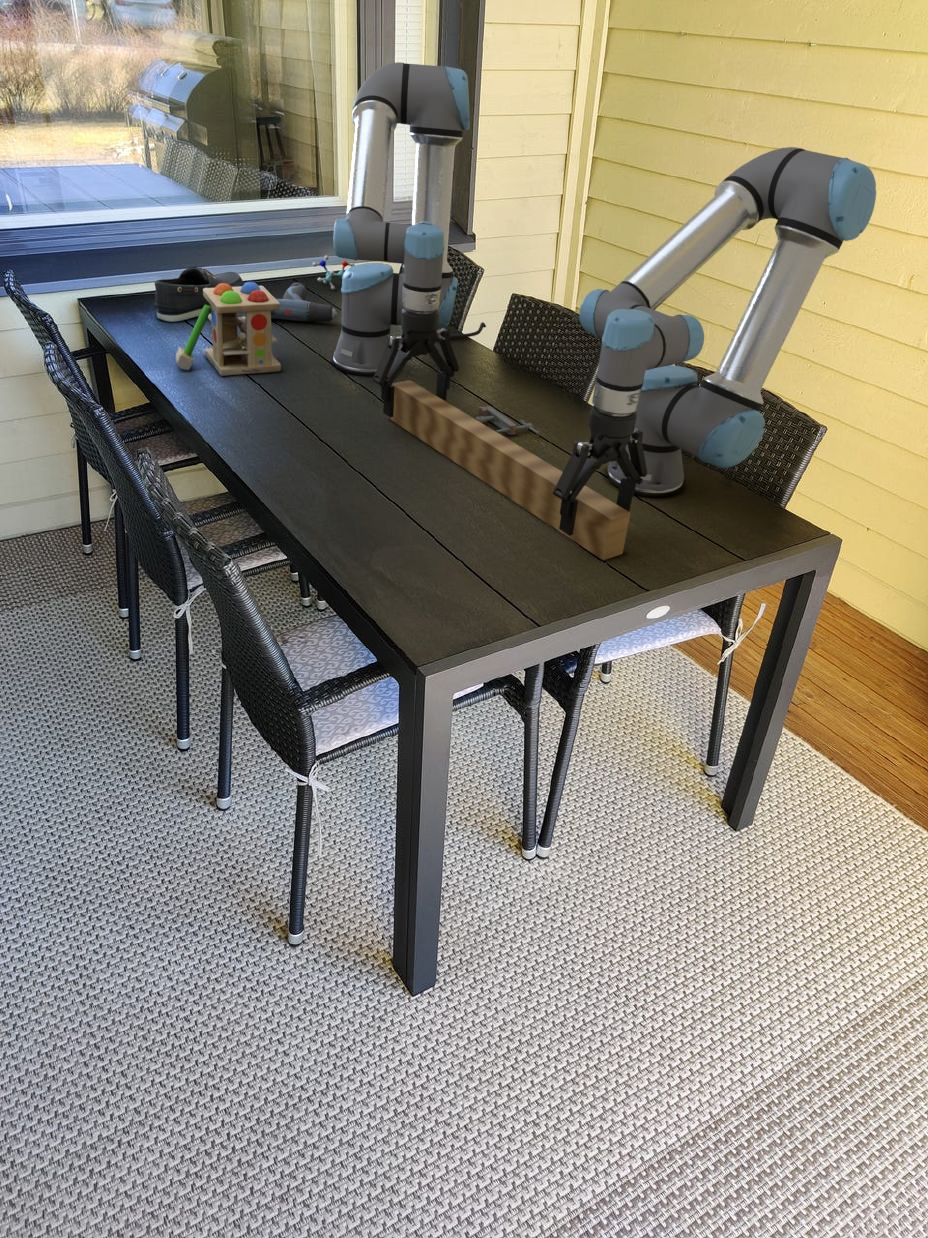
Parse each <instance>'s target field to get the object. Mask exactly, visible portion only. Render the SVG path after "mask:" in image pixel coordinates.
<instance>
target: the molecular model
mask: <svg viewBox="0 0 928 1238" xmlns="http://www.w3.org/2000/svg"><path fill="white" fill-rule="evenodd" d="M329 258H330V257H329V255H324V259H323V260H320V262H316V261H313V262H312V266H313V267H317V266H320V267H322V268H323V269H324V271H325V272H326V273H325V277H322V278H321V277H317V282H318V283H321V282H322V283H323V284H324V285H326V284H327V283H329V286H330V289H331V290H332V291H334V290H335V289H336V286H335V285H333V282H332V280H333V279H332V277H339V278H341V279H343V274H344V272H345V268H346V267H348V266H349V267H352V266H355V263H354V262H351V263H349V262H348V261H346V260H344V261H342V263H341V265H342V267H341V270H340V271H338V273H335V270H333V269H331V270H330V271H329V270H328V268H327V261H328V260H329Z"/></svg>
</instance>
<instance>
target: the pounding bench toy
mask: <svg viewBox="0 0 928 1238" xmlns="http://www.w3.org/2000/svg"><path fill="white" fill-rule="evenodd" d="M203 296H204V297H205V299H206V300H207V301H208V302H209V304H210V305H211V307H210V306H208V305H204V307H203V309H202V311H201V314H200V316H198V318H197V320H196V322H195V324H194V327H193V329H192V331H191V332H190V333H191V334H190V336H189V338H188V340H187V343H186V344H185V347H184V348H182V347H180V346H179V347H178V349H177V351H176V354H175V357H174V358H175V362H176V365H177V366H178V368H179V369H182V370H185V371H189V370H190V369H191V367H192V365H193V363H194V356H193V351H194V348H195V347H196V345H197V342H198V340H199V337H200V336H201V333H202V332H203V329H204V326H205V325H206V322H207V320H209V321H210V322H211V336H212V337H211V338H212V339H211V340H212V348H205V349H204V352H205V353H204V355H205V357H206V359H208V361H209V363H210V364H211V365H212V366H213V367H214V369H215V370H216V371H217V372H218V374H219V375H220V376H222V377H223V376H234V375H235V376H236V375H246V374H247V375H250V374H262V373H275V372H281V370H282V364H281V363H280V362H279V360H278V359H277V358H276V357H275V356H274V355H273V348H272V347H273V345H272V344H276V343H278V342H279V341H278V339H277V338H276V337H275V336H274V334H272V318H271V310H280V303H279V302H278V301H277V300H276V299H277V298H276V297H274V296H273V295H272V294H271V293H270V292H269V290H268V289H267V288H266V287H264V285H259V284H257V283H256V282H255V281H247V282H245V283H243V286H242V287H231V286H230V285H228V284H226V283H221V284H218V285H217V286H216V287H215V288H204V289H203ZM238 313H244V314H245V315H244V316H238ZM238 329H239V331H240V333H239V334H238Z"/></svg>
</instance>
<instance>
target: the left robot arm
mask: <svg viewBox="0 0 928 1238" xmlns="http://www.w3.org/2000/svg"><path fill="white" fill-rule="evenodd" d="M469 93H470V91H469V78H468V74H467V73H466V71H464V70H463V69H461V68H456V67H450V66H447V65H445V66H443V65H442V66H441V65H432V64H431V65H430V64H429V65H428V64H417V63H407V62H401V61H400V62H397V61H396V62H390V63H386V64H384V65H382V66H380V67H379V68H378V69H376V70H375V71H373V72H372V73H370V75H369V76H368V77H367V78H366V80H365V81H364V82H363V83H362V85H361V86H360V87H359V89H358V91H357V94H356V95H355V98H354V101H353V105H352V113H351V120H352V123H353V126H354V128H355V131H354V140H353V148H352V149H353V150H352V159H351V166H350V167H351V170H350V179H349V187H348V197H347V206H346V217H342V218H336V220H335V221H334V225H333V236H332V237H333V242H332V243H333V244H332V245H333V252H334V254H335V256H336V257H338V258H340V259H345V260H346V259H347V260H352V261H369V262H366V263H360V264H359V263H358V264H356V265H355V266H352V267H351V266H349V267H348V268H346V270H344V271H343V272H344V274H343V279H342V278H341V279H342V281H341V288H340V293H341V319H340V321H341V324H340V325H341V326H340V329H341V330H340V336H339V338H338V341H337V344H336V348H335V350H334V352H333V361H332V362H333V363H332V364H333V366H334V367H335V368H337V369H338V370H339V371H342V372H344V373H347V374H352V375H356V376H373V378H372V381H373V382H374V383H376V384H377V385H379V386H380V399H381V400H382V401H383V408H382V412H383V414H384V415H386V416H387V417H389V418H390V417H393V414H394V392H395V387H394V386H392V384H393V383H395V381H396V380H397V378H398V376H399V375H400V374H401V372H402V370H403V369H404V368H405V366H406V364H407V363H408V362H409V361H411V360H412V358H413V357H414V358H415V357H419V356H427V355H429V357H430V358H431V359H432V361H433V362H434V363H435V365H436V366H437V368H438V370H440V372H437V376H436V377H437V378H436V389H435V395H436V396H437V397H439V398H441V399H442V400H444V401H446V402H447V396H448V395H447V394H448V390H449V389H450V387H451V385H450V384H451V378H453V377H454V376H455V373H456V372H459V370H460V365H459V363H458V360H457V357H456V354H455V352H454V349H453V345H452V343H451V340H450V339H462V338H472V337H475V336H478V335H480V334H481V333H482V331H483V329H484V328H487V325H486V324H485V322H483V321H482V322H480V324H479V327H478V330H476V331H472V332H469V333H458V334H451V332H450V331H449V330H448V329H446V328H447V327H448V326H449V325H450V323H451V319H452V315H453V312H454V311H453V310H454V306H455V300H456V296H457V290H458V284H459V280H458V278H457V277H455V276H453V271H454V270H453V268H452V267H451V266H450V264H449V263H448V247H449V234H450V220H451V208H452V207H451V206H452V194H453V193H452V191H453V176H454V164H455V163H454V162H455V151H456V150H455V149H456V146H457V145H458V144H459V143H460V142H461V141H462V140H463V134H464V132H466V131H469V130H470V128H471V127H470V125H471V124H470V94H469ZM398 124H400V125H407V126H409V136H410V137H411V138H412V140H413V141H414V143H415V152H414V154H415V155H414V170H413V173H414V174H413V187H412V188H413V190H412V206H411V208H412V209H411V212H412V213H411V223H410V224H409V223H398V222H397V223H396V222H385V221H384V218H385V207H386V196H387V185H388V184H387V183H388V175H389V173H388V172H389V163H390V153H391V152H390V151H391V142H392V141H391V139H392V134H393V133H394V132H395V130H396V128H397V125H398ZM389 263H391V264H401V265H402V268H401V269H402V270H401V271H402V272H401V273H398V272H394V268H393V266H392V265H391V264H389ZM391 326H401V330H402V331H401V333H400V335H399V336H394V335H393V334H391ZM437 340H438V342H439V343H438V344H439V346H440V348H441V351H442V353H443V356H444V358H443V356H442V355H441V354H440V352H439V350H438V348H437V347H436V345H435V343H436V342H437Z"/></svg>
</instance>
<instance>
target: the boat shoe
mask: <svg viewBox="0 0 928 1238" xmlns="http://www.w3.org/2000/svg"><path fill="white" fill-rule="evenodd" d="M221 283H226V284H228V285H230V286H231V287H242V286H243V285H244V280H243V278H242V277H241V275H240V274H239V273H238V272H235V271H227V272H221V273H216V274H213V273H211V271H209V270H208V269H206V268H203V267H197V266H195V265H193V266H190V267H187V268H186V269H184V270H183V271H182V272H181V273H180V274H179V276H178V277H176V278H175V277H174V278H161V279H156V280H154V287H155V298H154V299H155V302H154V303H153V305H154V306H155V307H156V308H157V309H156V317H157V319H159V320H161V321H164V322H171V323H172V322H181V321H185V320H189V319H192V318H196V317H199V316H200V314H201V311H202V309H203V307H204V305H208V306H210V307H211V305H210V304H209V302H208V301H207V300H206V299H205V297H204V296H203V289H204V288H215V287H216V286H217V285H218V284H221Z"/></svg>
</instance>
